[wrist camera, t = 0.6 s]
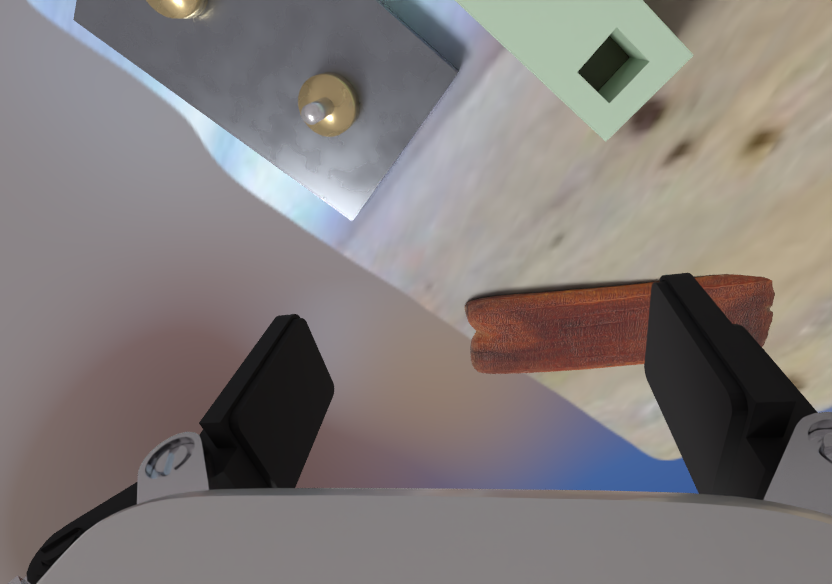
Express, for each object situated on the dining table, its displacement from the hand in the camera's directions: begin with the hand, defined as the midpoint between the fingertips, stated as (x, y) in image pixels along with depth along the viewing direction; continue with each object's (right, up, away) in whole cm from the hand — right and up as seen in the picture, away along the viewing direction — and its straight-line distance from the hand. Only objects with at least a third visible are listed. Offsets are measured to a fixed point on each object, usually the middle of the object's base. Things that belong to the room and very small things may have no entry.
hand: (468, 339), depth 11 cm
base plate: (-12, +19, +18) cm, 29 cm away
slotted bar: (+6, +20, +15) cm, 25 cm away
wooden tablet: (+17, -2, +28) cm, 33 cm away
